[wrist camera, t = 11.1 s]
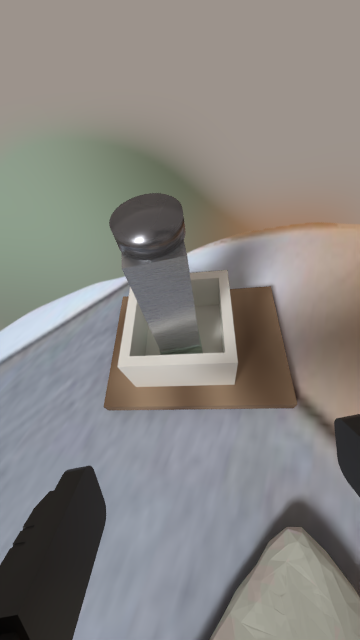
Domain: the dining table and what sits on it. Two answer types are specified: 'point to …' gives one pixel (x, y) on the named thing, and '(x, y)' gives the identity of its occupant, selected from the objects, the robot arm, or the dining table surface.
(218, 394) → the board
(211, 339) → the holder
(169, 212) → the capped metal post
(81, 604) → the robot arm
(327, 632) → the stone
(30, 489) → the dining table surface
